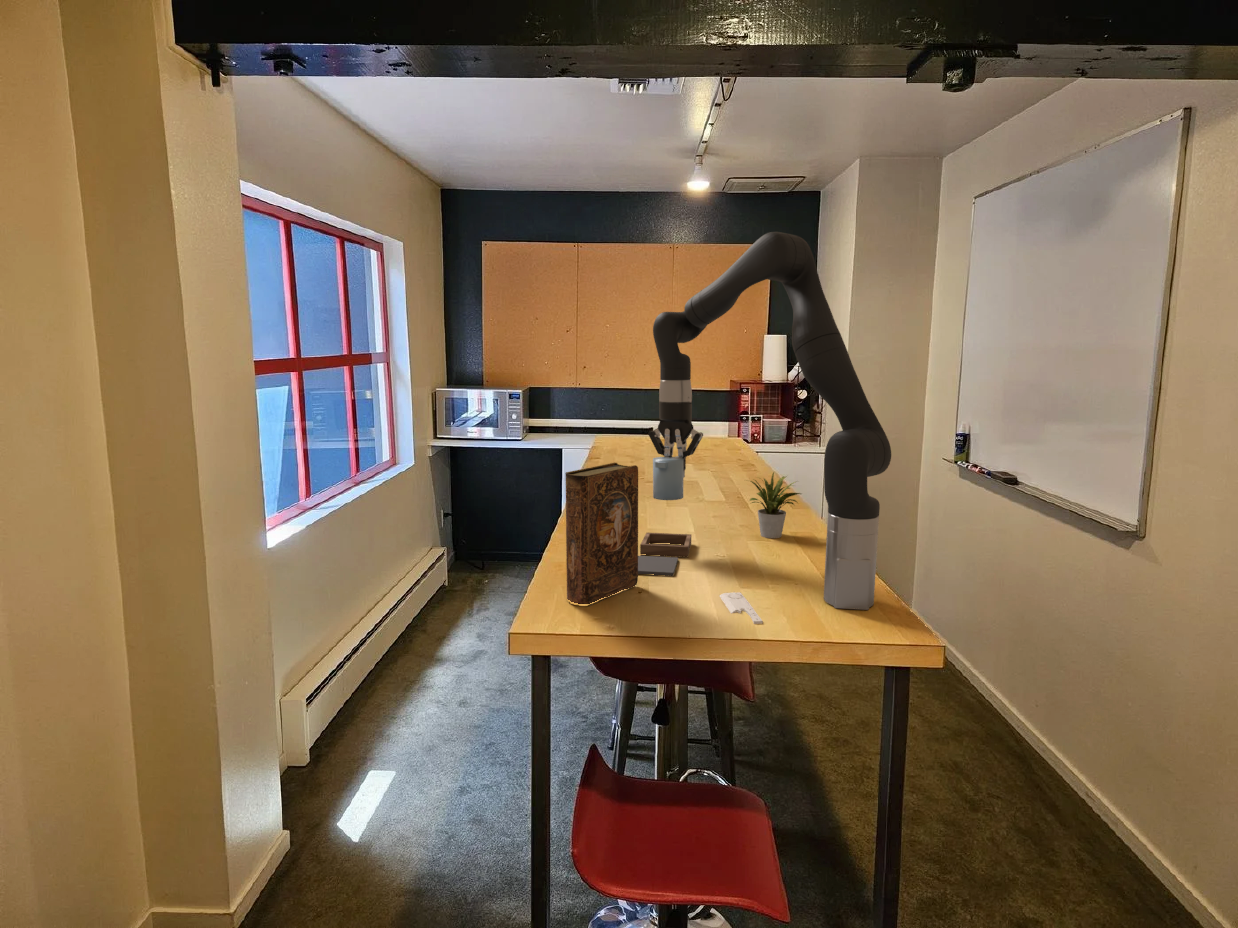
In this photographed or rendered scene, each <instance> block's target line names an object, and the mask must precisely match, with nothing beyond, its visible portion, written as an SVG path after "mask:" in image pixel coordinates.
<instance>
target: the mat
mask: <svg viewBox="0 0 1238 928" xmlns="http://www.w3.org/2000/svg"><path fill="white" fill-rule="evenodd" d="M678 562H679V557H666V556H645V555H638V575H639V574H654V575H653V576H658V575H665V576H664V577H674V575H675V572H676V569H677V566H678Z"/></svg>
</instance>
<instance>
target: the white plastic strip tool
mask: <svg viewBox="0 0 1238 928" xmlns="http://www.w3.org/2000/svg"><path fill="white" fill-rule="evenodd" d="M719 598H720V599H721V601H722V602H723V603H724V605H725V607H726V609H728V612H729V613H730V614H734V613H738V614H742V612H745V613H746V614H747V615H748V616H749V617H750V619H751V620H752V623H753V625H757V624H758V625H759V624H763V622H764V620H762V617H761V616H759V614H758V613H757V612H756V610H755V608H754V607H753V606H752V605H751V603H750V602H749V601H748V599H747V598H746V597H745V596H744V595H743V593H742V592H738V591H737V592H735V591H733V592H732V591H731V592H723V593H721V594H719Z"/></svg>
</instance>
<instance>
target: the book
mask: <svg viewBox="0 0 1238 928" xmlns="http://www.w3.org/2000/svg"><path fill="white" fill-rule="evenodd" d="M565 538H566V539H565V540H566V541H565V543H566V544H565V546H566V548H565V549H566V554H565V555H566V600H567V599H568V600H570V601H571V602H574V603H578V604H590V603H592V602H595V601H597V600H599V599H601V598H604V597H608V596H610V595H612V594H615V593H617V592H619V591H621V590H624V589H628V588H630V589H632V588H634V587H636V586H637V584H638V582H639V581H638V579H639V574H638V556H639V467H638V465H622V464H618V462H610V463H606V464H601V465H594V466H590V467H585V468H580V469H576V470H572V471H571V470H570V471H565ZM635 585H636V586H635ZM633 586H634V587H633ZM631 587H632V588H631ZM628 590H629V589H628Z"/></svg>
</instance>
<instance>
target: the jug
mask: <svg viewBox="0 0 1238 928" xmlns="http://www.w3.org/2000/svg"><path fill="white" fill-rule="evenodd" d="M685 471H686V470H685ZM685 471H683V458H680V457H678V455H676V456H672V457H664V456H658V457H657V456H656V457H653V458H652V498H653V499H654V500H659V501H679V500H682V499H684V478H685V477H686V475H685V473H686V472H685Z"/></svg>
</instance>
